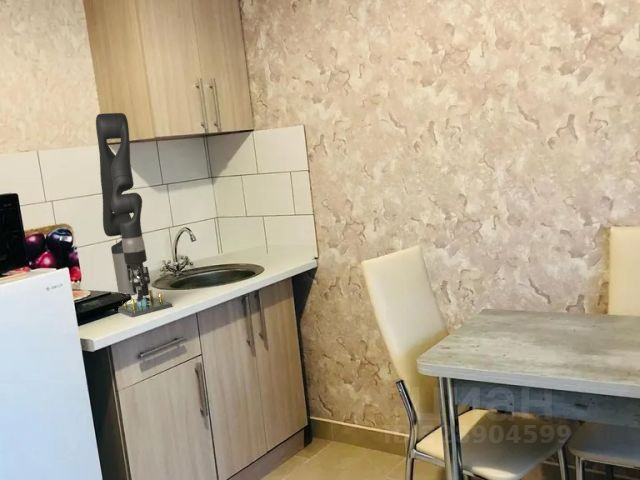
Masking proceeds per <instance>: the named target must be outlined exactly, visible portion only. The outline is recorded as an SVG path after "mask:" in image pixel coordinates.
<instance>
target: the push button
mask: <svg viewBox="0 0 640 480" xmlns="http://www.w3.org/2000/svg"><path fill="white" fill-rule="evenodd" d="M132 284H133V287H136V290H137V294H136V295H137V296H136V297H137V298H135V300H136V302H137V306H148V305H151V304H149V302H151V301H150V297H147V296H148V295H147V296H143V295H142V289H141V284H140V282H139V281H138V280H137V278H135V279H134V281H133V282H132ZM136 302H135V303H136Z"/></svg>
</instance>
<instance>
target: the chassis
mask: <svg viewBox="0 0 640 480" xmlns="http://www.w3.org/2000/svg"><path fill="white" fill-rule="evenodd" d="M148 290H149V289H148ZM153 292H154V291H153V289H150V290H149V295H148V296H149V299H150V301H151V302H149V304H151V305H148V306H137V302H135V299H134V298H133V299H130V303H129V304H127V303H128V302H127V301H126V302H125V303H124V304H123V303H122V306H121V305H120V306H121V307H120V306H118V307H119V308H118V312H117V313H119V314H122V315H125V316H128V317H131V318H135V317H140V316H142V315H147V314H151V313H154V312H158V311H162V310H166V309H169V308H173V303H172V302H169V301H166V300H163V295H162V292H157V295H158V298H156V297H154V294H153Z"/></svg>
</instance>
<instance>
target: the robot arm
mask: <svg viewBox="0 0 640 480" xmlns="http://www.w3.org/2000/svg"><path fill="white" fill-rule="evenodd" d="M95 129H96V138H97V145H98V153H99V169H100V170H99V171H100V172H99V174H100V185H101V193H102V196H101V197H102V227H103V231H104V232H103V233H104V234H105V235H106V236H107V237H117V236H121V240H120V241H118V242H117V243H115V244H113V245H111V249H110V250H111V256H112V262H113V267H114V274H115V280H116V286H117V292H121V293H126V294H130V295H129V296H131V295H137V290H136V287H133V284H132V282H133V281H134V279H135V278H137V280H138V281H139V282H140V284H141V289H142V295H143V296H150V295H149V284H151V278H150V273H149V267H148V266H144V263H145V262H147V260H148V259H147V258H148V257H147V253H146V252H147V251H146V247H145V246H146V245H145V241H144V238H143V232H142V231H143V230H142V225H141V219H142V217H141V216H142V208H143V199H142V196H141V194H140V193H138V192H129V193H124V192H127V191H129V190H131V189H132V188H133V187H134V184H135V183H134V177H133V172H132V165H131V145H130V132H129V131H130V128H129V121H128V118H127V116H126V114H125V113H123V112H110V113H99V114H97V115H96V117H95ZM114 139H115V140H116V139H120V145H119V147H118V150H117V152H116V153H114V152H113V150H112V149H111V147H110V146H109V144H108V141H107V140H114ZM131 214H133V215H132V216H131Z"/></svg>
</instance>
